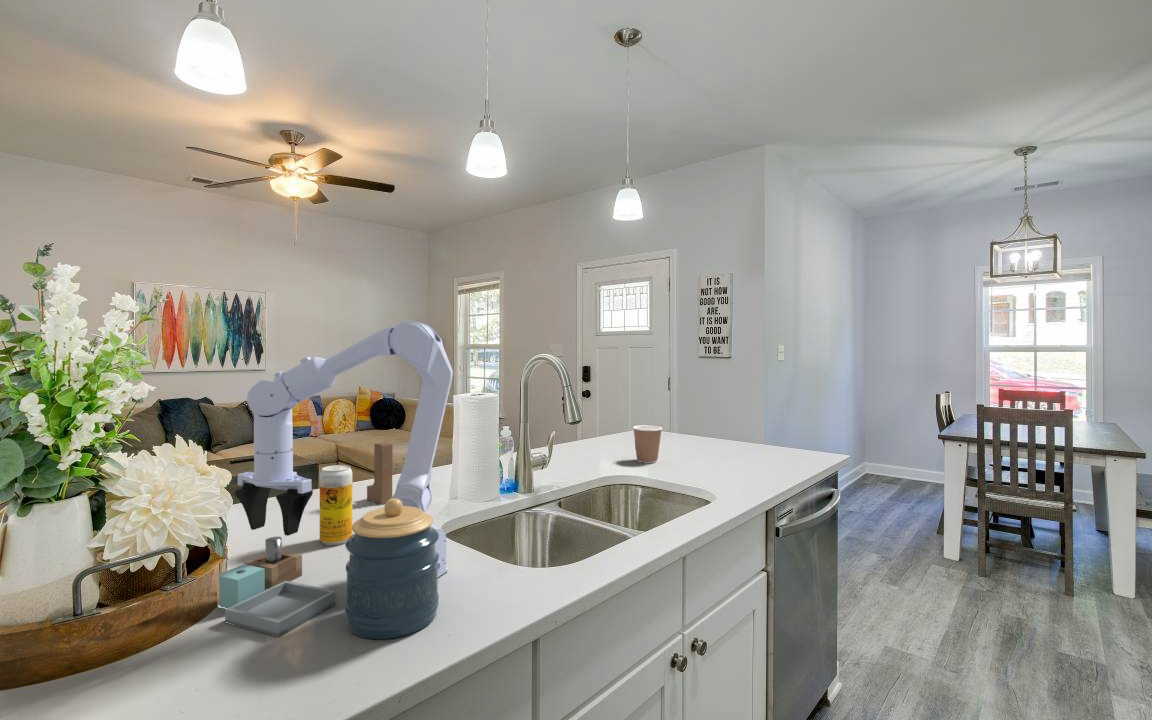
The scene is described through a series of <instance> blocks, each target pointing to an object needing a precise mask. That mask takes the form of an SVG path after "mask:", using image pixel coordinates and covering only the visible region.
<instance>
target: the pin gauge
mask: <svg viewBox="0 0 1152 720" xmlns="http://www.w3.org/2000/svg"><path fill="white" fill-rule="evenodd" d="M282 538H283V537H281V536H272V537H268V538H266V539H265V542H264V543H265V544H264V545H265V548H264V549H265V550H264V551H265V553H264V555H265V563H268V564H275V563H277V562H279V561H282V551H283V550H282V549H283V548H282V545H283V543H282V541H283V539H282Z"/></svg>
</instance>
